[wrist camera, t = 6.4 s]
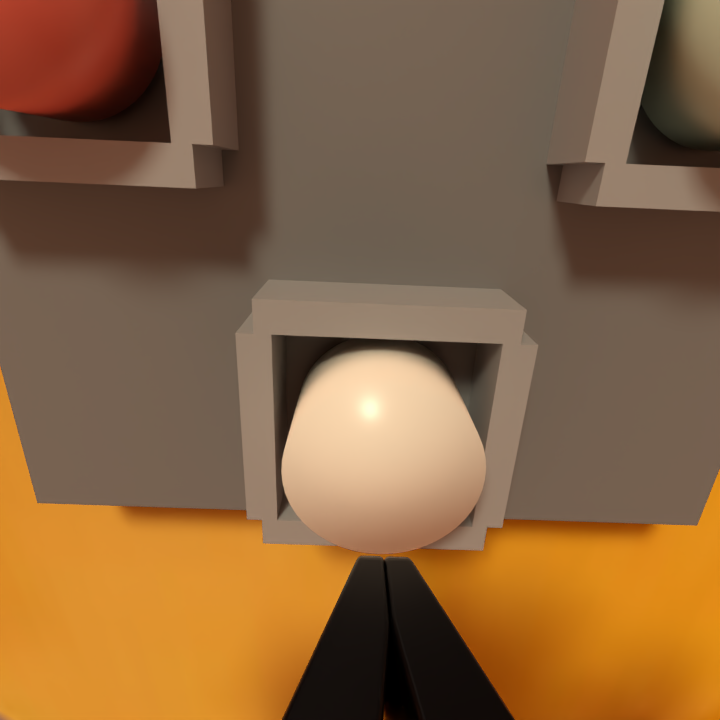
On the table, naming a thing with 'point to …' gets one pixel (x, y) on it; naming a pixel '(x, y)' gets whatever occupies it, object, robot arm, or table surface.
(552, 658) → the table surface
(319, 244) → the control panel
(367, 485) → the cream button
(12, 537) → the table surface
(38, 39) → the red button
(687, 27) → the sage button
